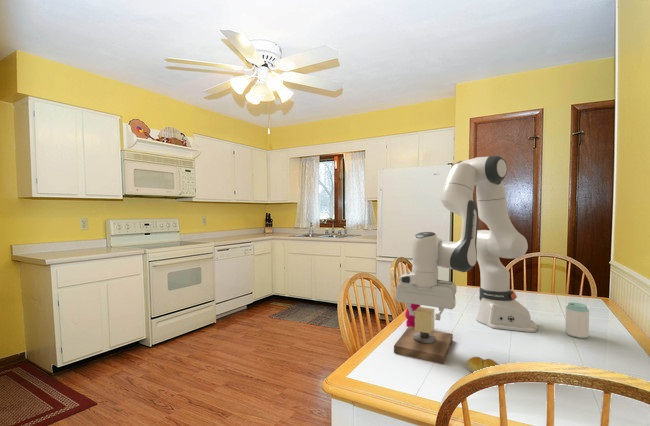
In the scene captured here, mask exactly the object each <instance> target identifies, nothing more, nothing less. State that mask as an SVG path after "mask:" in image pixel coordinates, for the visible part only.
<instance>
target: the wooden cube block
mask: <svg viewBox="0 0 650 426" xmlns="http://www.w3.org/2000/svg"><path fill="white" fill-rule="evenodd" d="M434 329H435V308H433V307H432V308H430V307H425V306H420V307H418V308H417V309H416V310H415V331H419V332H424V333H429V334H431V333H432V332H433V331H435V330H434Z"/></svg>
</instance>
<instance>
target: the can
mask: <svg viewBox="0 0 650 426" xmlns="http://www.w3.org/2000/svg"><path fill="white" fill-rule="evenodd" d="M564 332H565V333H566V334H567V335H568V336H569V337H572V338H576V339H580V340H581V339H586V338H589V336H590V310H589V309H588V305H587V304H584V303H580V302H574V301H573V302H568V303H567V305H566V306H565V331H564Z"/></svg>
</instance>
